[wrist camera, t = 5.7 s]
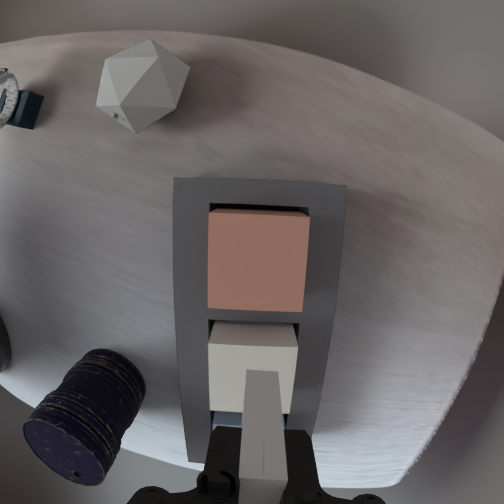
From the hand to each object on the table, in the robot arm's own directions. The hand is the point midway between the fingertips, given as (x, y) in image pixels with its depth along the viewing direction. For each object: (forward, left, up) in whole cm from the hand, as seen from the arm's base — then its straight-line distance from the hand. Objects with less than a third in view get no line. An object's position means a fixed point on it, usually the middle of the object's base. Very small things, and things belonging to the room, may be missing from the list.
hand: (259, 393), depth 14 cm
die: (-12, +19, -19) cm, 29 cm away
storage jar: (-18, -15, -19) cm, 30 cm away
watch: (-30, +20, -19) cm, 41 cm away
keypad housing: (0, -6, -19) cm, 20 cm away
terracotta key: (0, +4, -14) cm, 15 cm away
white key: (0, -6, -14) cm, 15 cm away
